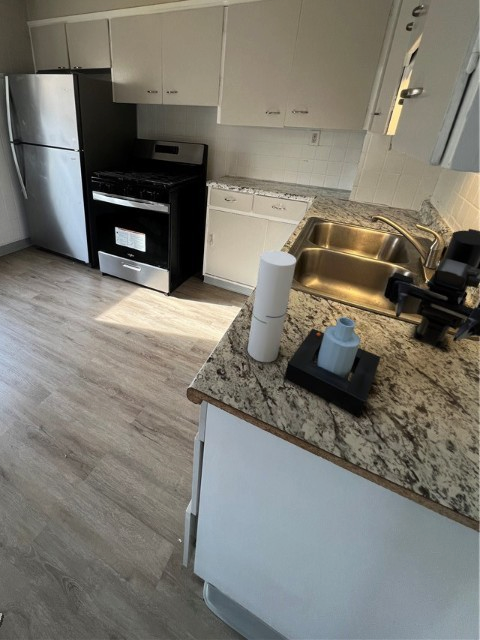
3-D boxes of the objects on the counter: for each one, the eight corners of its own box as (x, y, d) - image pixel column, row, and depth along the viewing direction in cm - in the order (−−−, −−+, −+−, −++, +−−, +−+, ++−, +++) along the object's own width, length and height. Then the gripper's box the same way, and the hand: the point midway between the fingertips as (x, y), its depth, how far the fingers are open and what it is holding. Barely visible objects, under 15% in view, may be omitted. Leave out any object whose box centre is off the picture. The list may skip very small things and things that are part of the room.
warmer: (309, 342, 78) (313, 326, 76) (375, 372, 70) (381, 354, 68) (284, 378, 68) (288, 360, 66) (359, 418, 59) (366, 399, 57)
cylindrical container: (278, 364, 71) (297, 267, 61) (247, 359, 73) (260, 263, 62) (277, 343, 78) (294, 252, 67) (248, 339, 79) (260, 248, 68)
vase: (320, 359, 73) (334, 308, 67) (350, 373, 69) (368, 320, 63) (310, 376, 68) (324, 322, 62) (342, 392, 65) (360, 337, 59)
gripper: (409, 238, 68) (379, 274, 60) (528, 269, 56) (510, 320, 48) (397, 278, 74) (369, 315, 66) (502, 313, 62) (482, 365, 54)
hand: (424, 326), depth 58 cm, fingers open, 9 cm apart
